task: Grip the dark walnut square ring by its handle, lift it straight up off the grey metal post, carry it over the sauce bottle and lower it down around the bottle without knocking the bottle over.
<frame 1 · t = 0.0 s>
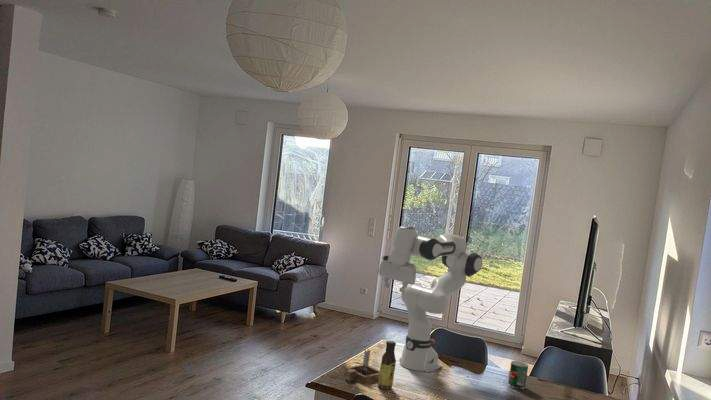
hand: (393, 289, 261), 39 cm above the table, tool pointing down, fingers open, 8 cm apart
metal post: (363, 376, 253), on the table
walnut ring: (363, 376, 253), on the table
sauce bottle: (384, 387, 243), on the table
canned tomato: (516, 386, 269), on the table
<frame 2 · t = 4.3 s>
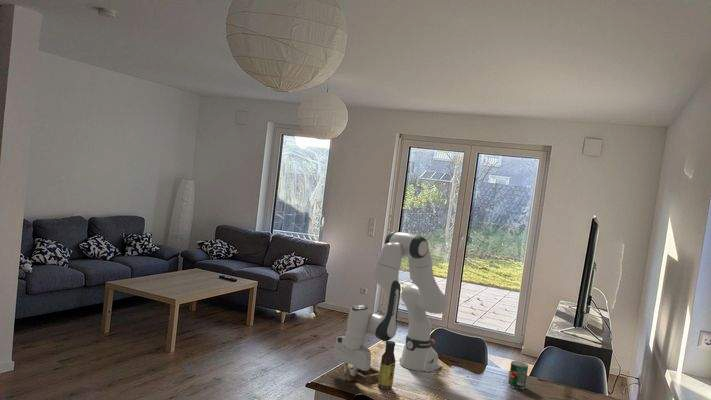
hand: (349, 373, 246), 3 cm above the table, tool pointing down, fingers closed on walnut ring, 2 cm apart
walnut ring: (363, 376, 253), on the table, touching gripper
sauce bottle: (384, 387, 243), on the table, touching arm
everything else where it was.
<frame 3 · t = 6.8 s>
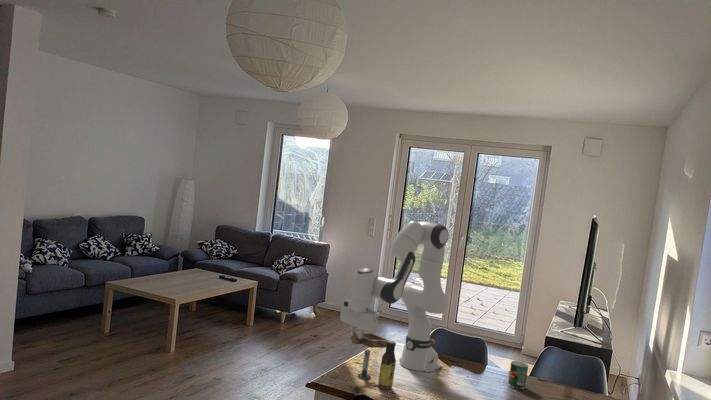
hand: (356, 337, 246), 19 cm above the table, tool pointing down, fingers closed on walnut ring, 2 cm apart
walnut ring: (369, 343, 252), point 15 cm above the table, tilted 6°, touching gripper
sauce bottle: (384, 387, 243), on the table
everything else where it was.
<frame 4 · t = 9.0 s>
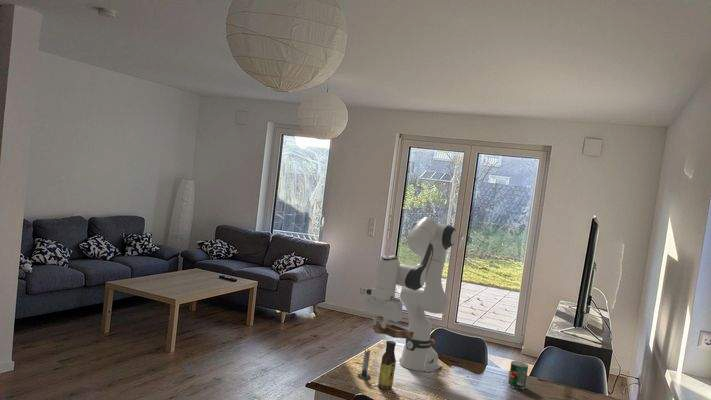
hand: (379, 326, 237), 27 cm above the table, tool pointing down, fingers closed on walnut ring, 2 cm apart
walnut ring: (392, 334, 243), point 23 cm above the table, tilted 8°, touching gripper
everything else where it was.
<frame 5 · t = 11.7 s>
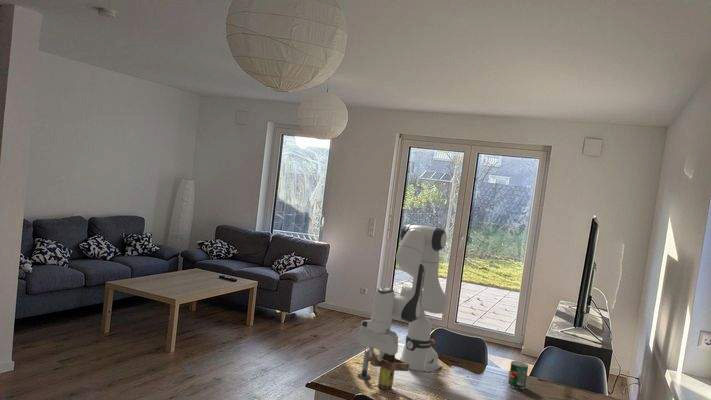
hand: (375, 358, 237), 14 cm above the table, tool pointing down, fingers closed on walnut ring, 2 cm apart
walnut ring: (387, 366, 243), point 9 cm above the table, tilted 9°, touching gripper
everything else where it was.
when the fingers open (3 cm above the table, at t = 13.9 s): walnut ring stays where it is, on the table.
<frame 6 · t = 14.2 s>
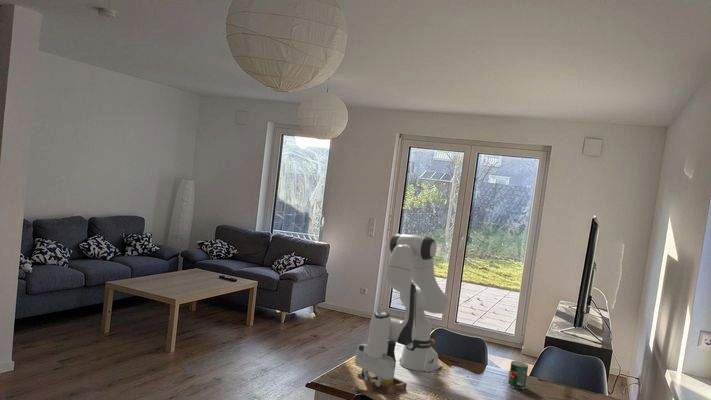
hand: (372, 383, 237), 3 cm above the table, tool pointing down, fingers open, 5 cm apart
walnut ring: (385, 387, 243), on the table
everything else where it was.
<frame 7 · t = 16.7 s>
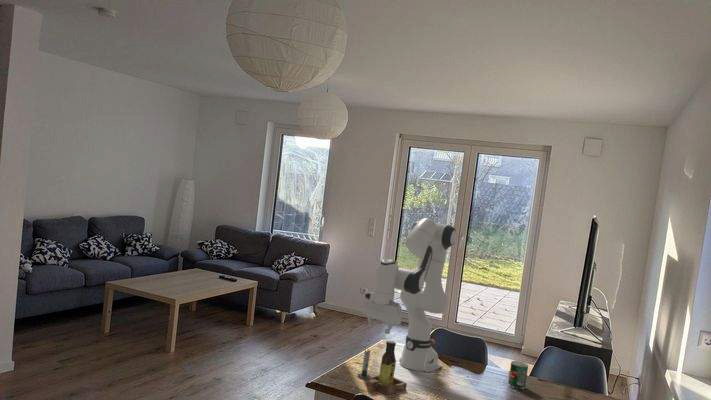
hand: (378, 330, 238), 25 cm above the table, tool pointing down, fingers open, 8 cm apart
nothing on the table moved.
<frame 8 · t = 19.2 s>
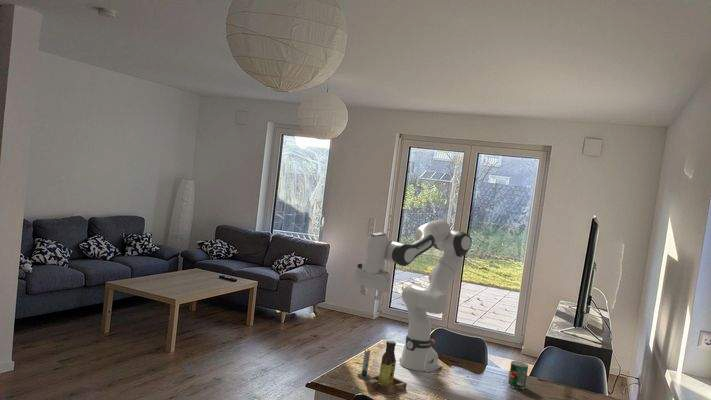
hand: (369, 297, 259), 34 cm above the table, tool pointing down, fingers open, 8 cm apart
nothing on the table moved.
at the end: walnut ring 0.5 cm off-centre in the sauce bottle, point 0.2 cm above the sauce bottle's base; sauce bottle tilted 0°; sauce bottle moved 0.2 cm from its start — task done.
